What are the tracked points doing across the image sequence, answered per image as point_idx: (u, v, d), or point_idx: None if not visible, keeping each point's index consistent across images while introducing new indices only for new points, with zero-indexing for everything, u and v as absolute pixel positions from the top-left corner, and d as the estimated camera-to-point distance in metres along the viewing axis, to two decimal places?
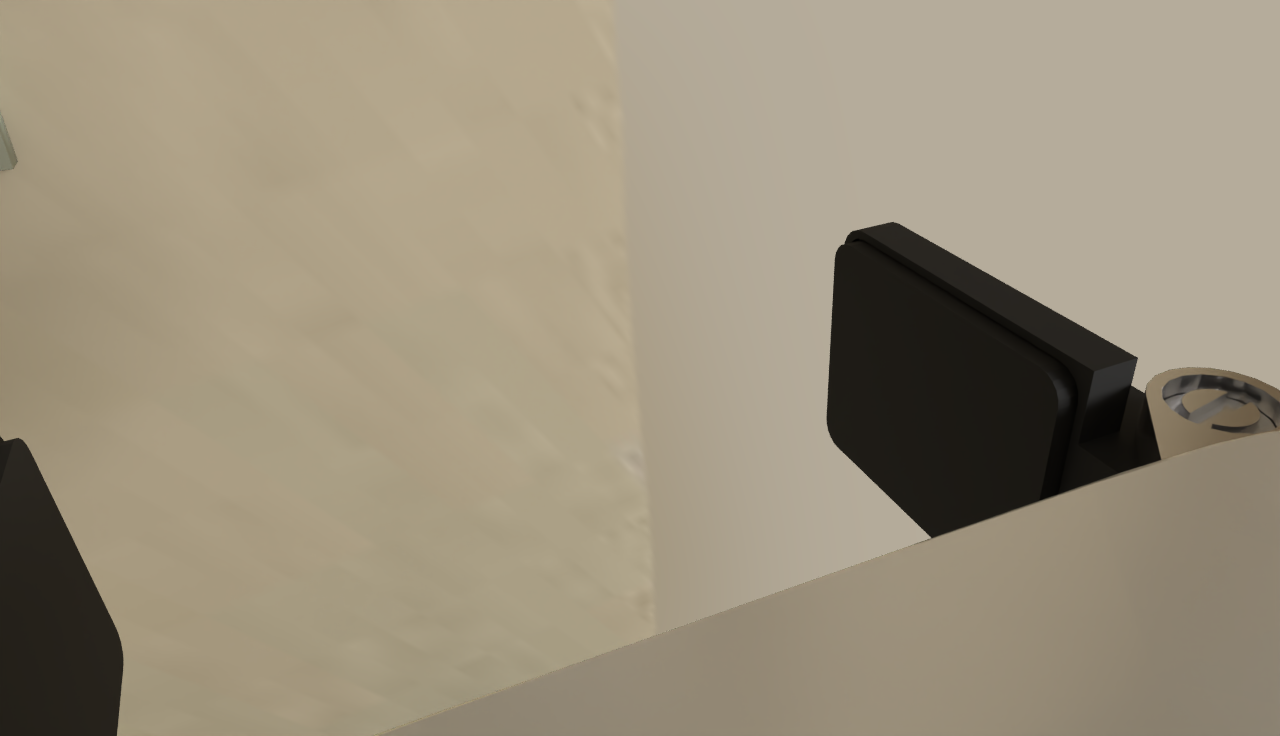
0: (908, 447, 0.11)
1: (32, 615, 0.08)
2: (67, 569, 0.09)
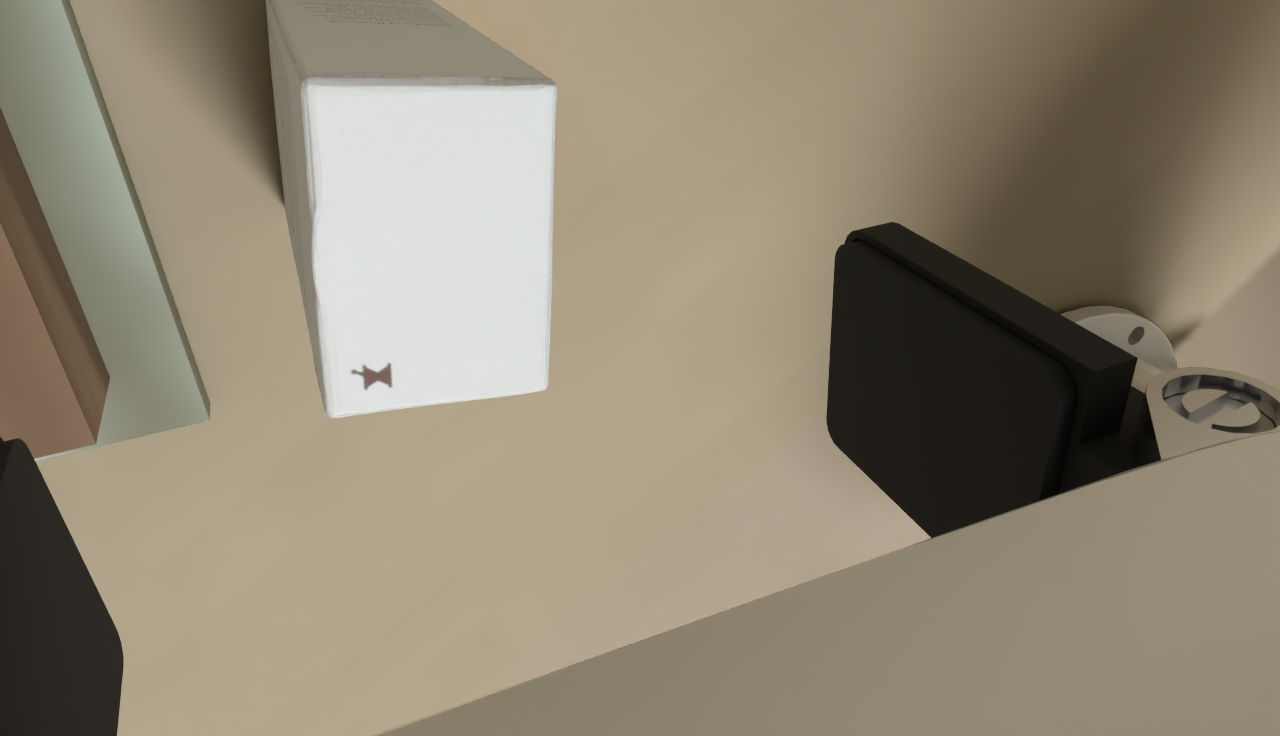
0: (908, 447, 0.11)
1: (32, 615, 0.08)
2: (67, 569, 0.09)
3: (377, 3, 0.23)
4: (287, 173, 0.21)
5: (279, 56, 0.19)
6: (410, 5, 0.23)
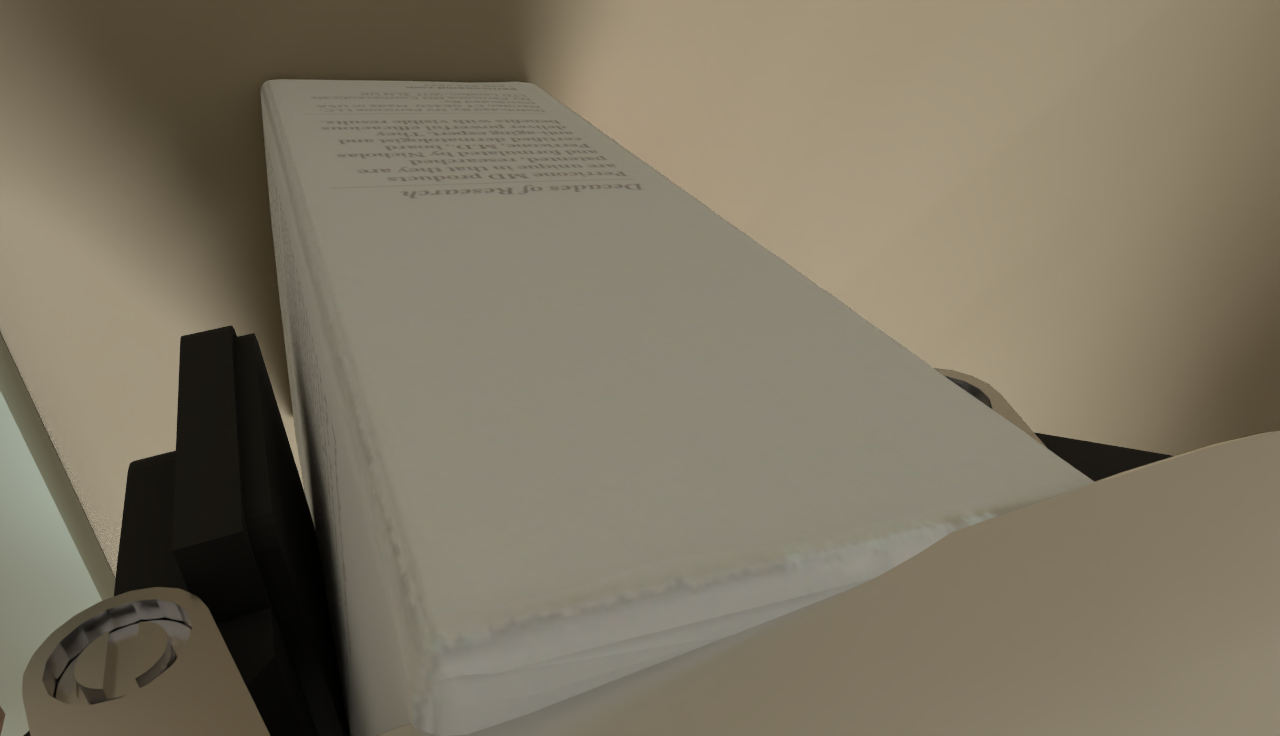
0: None
1: (285, 474, 0.10)
2: (288, 450, 0.11)
3: (467, 113, 0.12)
4: (306, 449, 0.11)
5: (296, 277, 0.09)
6: (526, 115, 0.12)
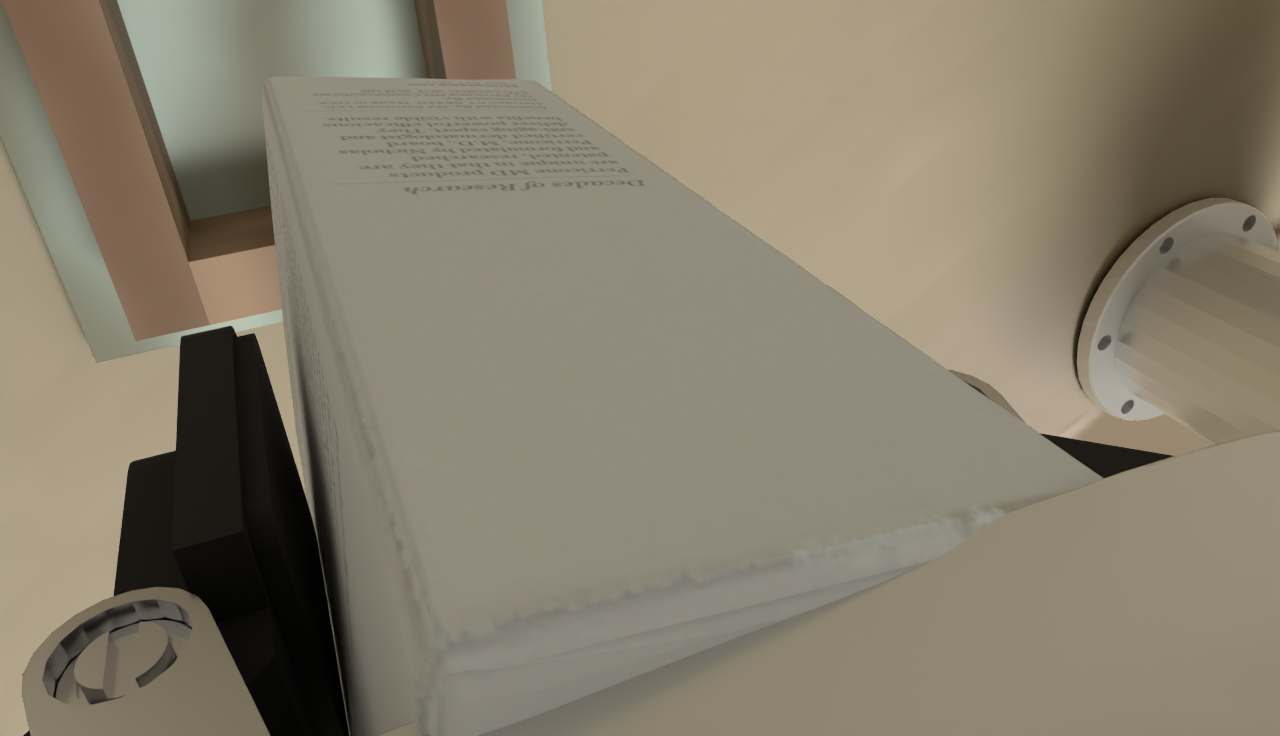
0: None
1: (285, 474, 0.10)
2: (287, 450, 0.11)
3: (469, 110, 0.12)
4: (308, 447, 0.11)
5: (298, 273, 0.09)
6: (527, 112, 0.12)
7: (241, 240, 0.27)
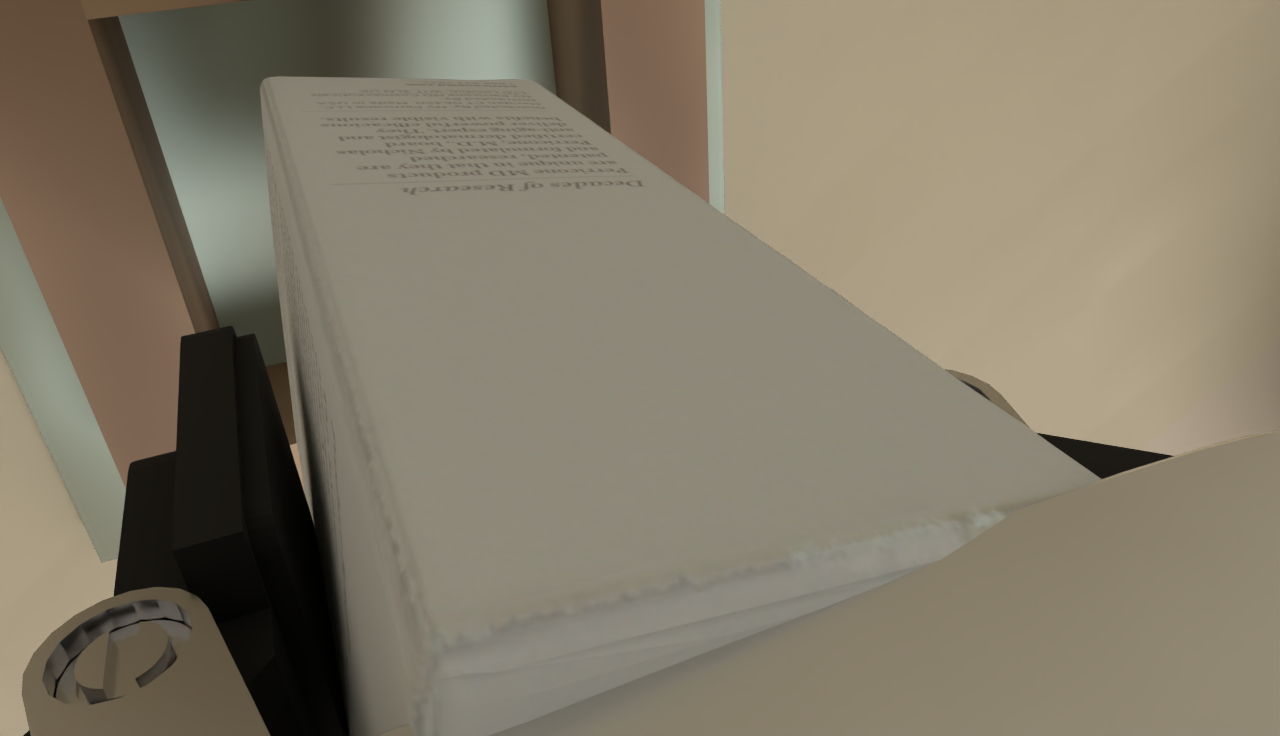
0: None
1: (284, 474, 0.10)
2: (287, 449, 0.11)
3: (467, 111, 0.12)
4: (306, 447, 0.11)
5: (296, 274, 0.09)
6: (526, 112, 0.12)
7: None
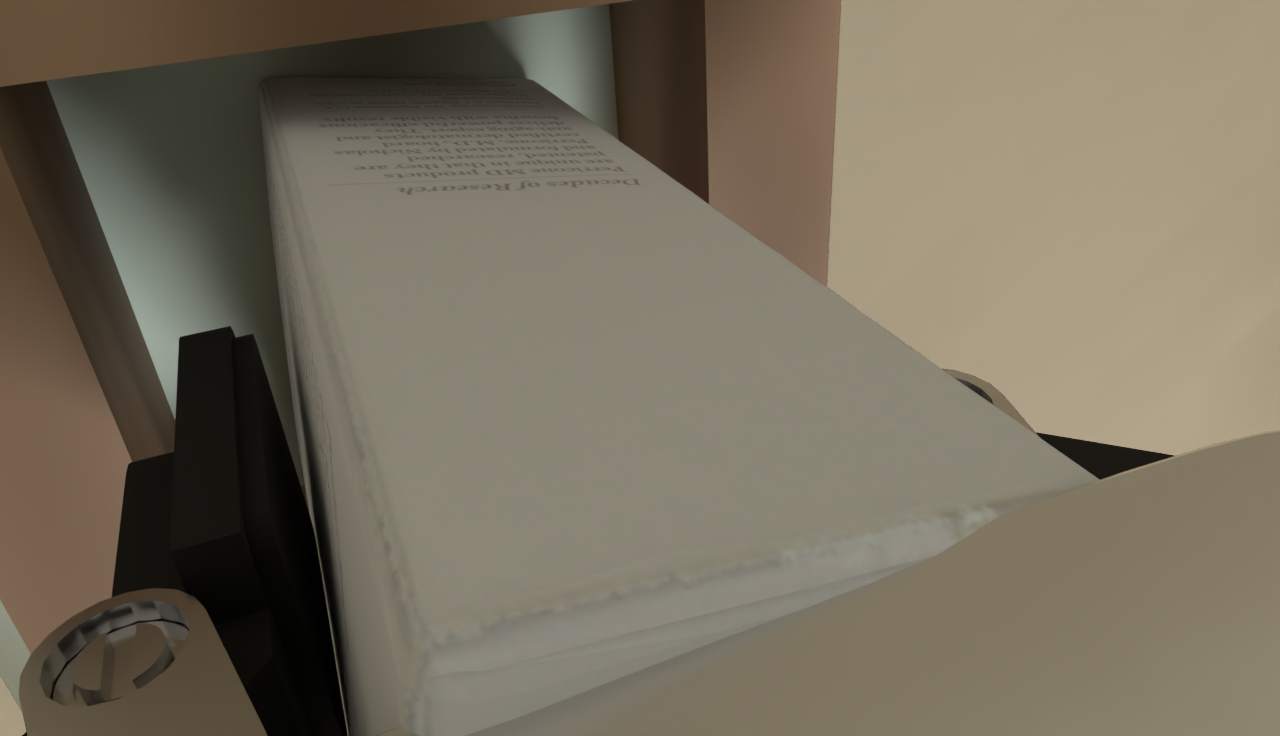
0: None
1: (282, 474, 0.10)
2: (286, 450, 0.11)
3: (465, 110, 0.12)
4: (306, 447, 0.11)
5: (293, 274, 0.09)
6: (524, 111, 0.12)
7: None
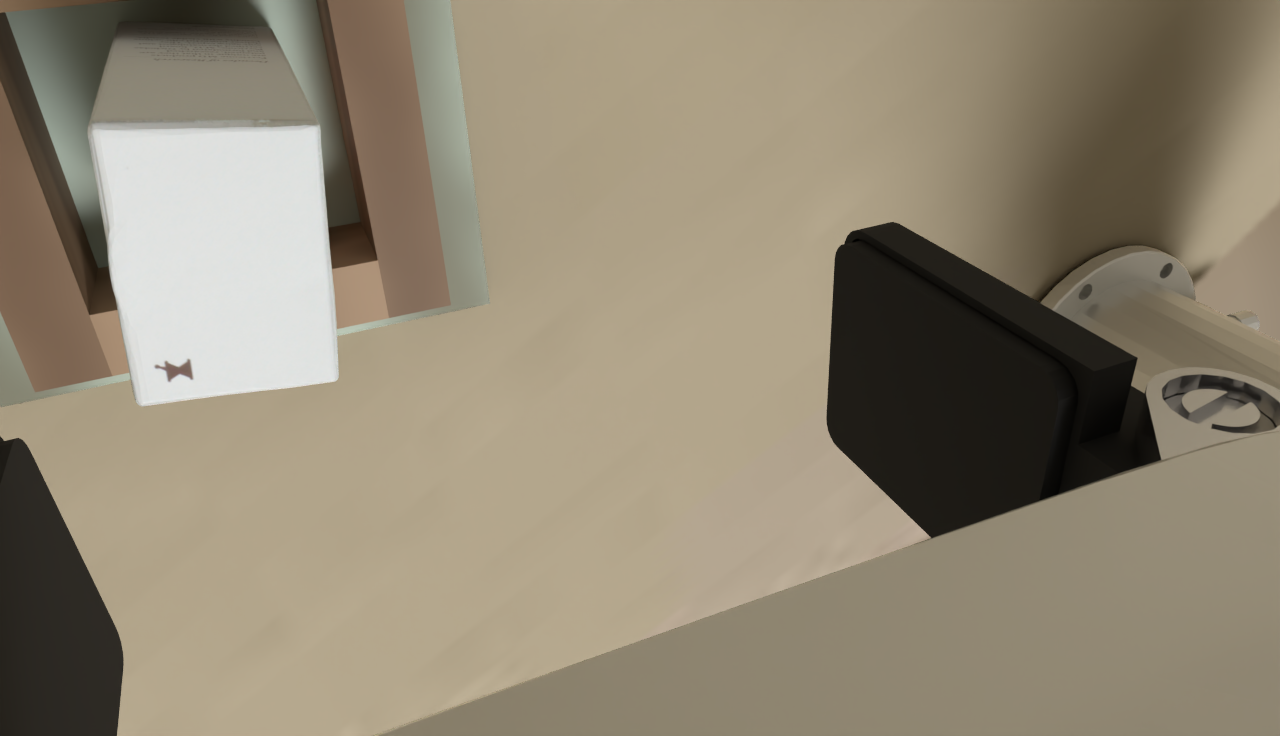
0: (908, 447, 0.11)
1: (32, 615, 0.08)
2: (67, 569, 0.09)
3: (213, 36, 0.25)
4: None
5: None
6: (244, 38, 0.25)
7: None
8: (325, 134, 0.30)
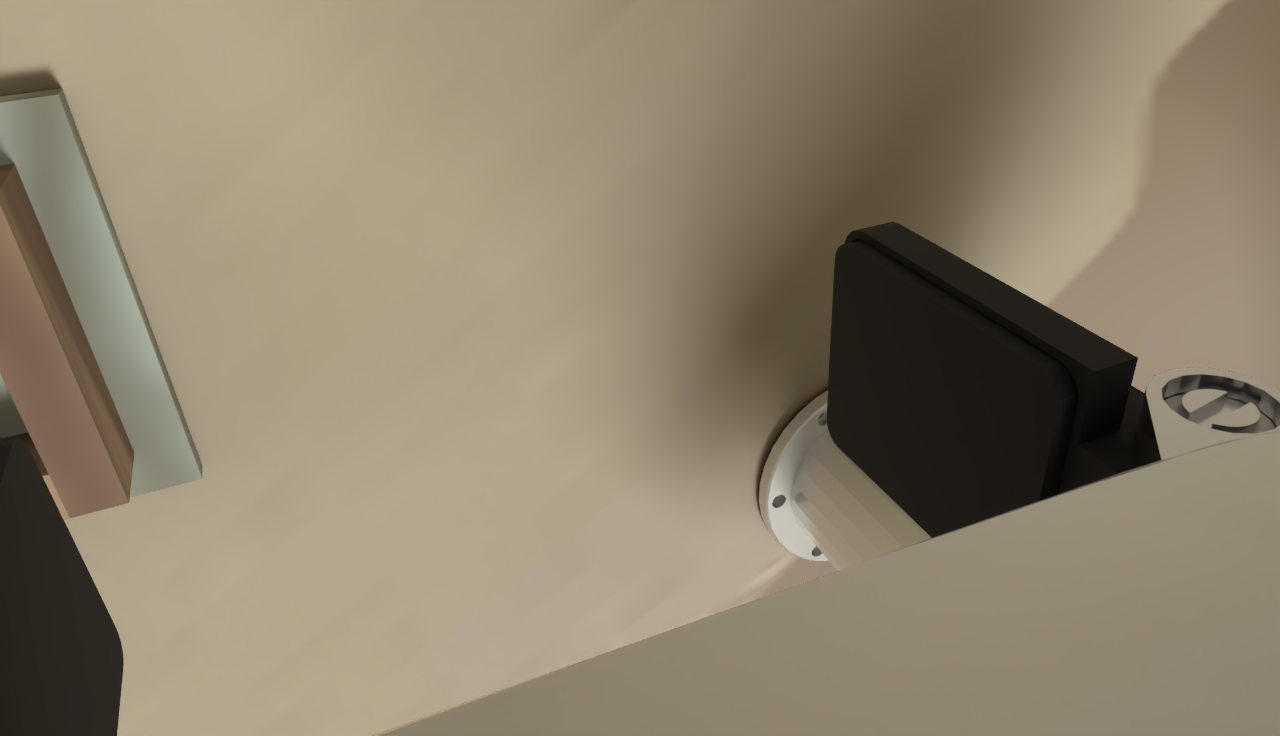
0: (908, 447, 0.11)
1: (32, 615, 0.08)
2: (67, 569, 0.09)
3: None
4: None
5: None
6: None
7: None
8: None
